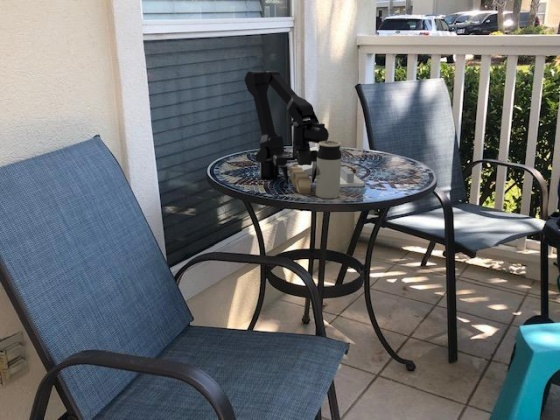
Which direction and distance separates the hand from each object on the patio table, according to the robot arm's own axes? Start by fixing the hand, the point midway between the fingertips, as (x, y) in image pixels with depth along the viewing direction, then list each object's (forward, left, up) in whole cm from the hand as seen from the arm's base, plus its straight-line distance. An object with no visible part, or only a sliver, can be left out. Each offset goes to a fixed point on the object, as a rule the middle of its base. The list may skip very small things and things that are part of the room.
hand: (299, 183), depth 202 cm
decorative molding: (+11, +31, -2) cm, 33 cm away
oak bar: (0, 0, -1) cm, 1 cm away
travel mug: (+7, -13, -1) cm, 15 cm away
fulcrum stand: (+18, +3, -1) cm, 18 cm away
